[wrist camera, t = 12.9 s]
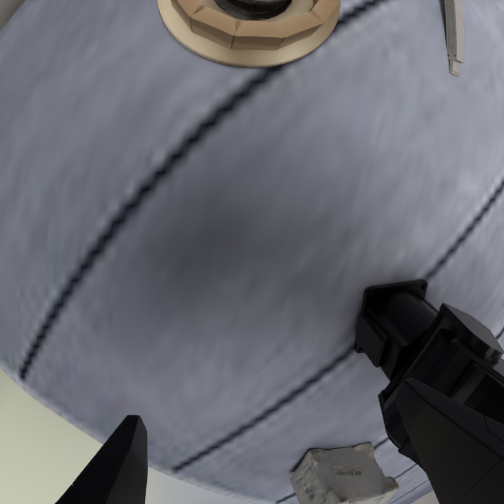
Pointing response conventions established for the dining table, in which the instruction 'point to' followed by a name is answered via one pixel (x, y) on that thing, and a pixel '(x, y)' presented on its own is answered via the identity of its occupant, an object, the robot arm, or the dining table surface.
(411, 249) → the dining table surface
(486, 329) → the robot arm
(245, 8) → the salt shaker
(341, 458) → the incense holder
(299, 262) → the dining table surface
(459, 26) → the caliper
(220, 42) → the dish
